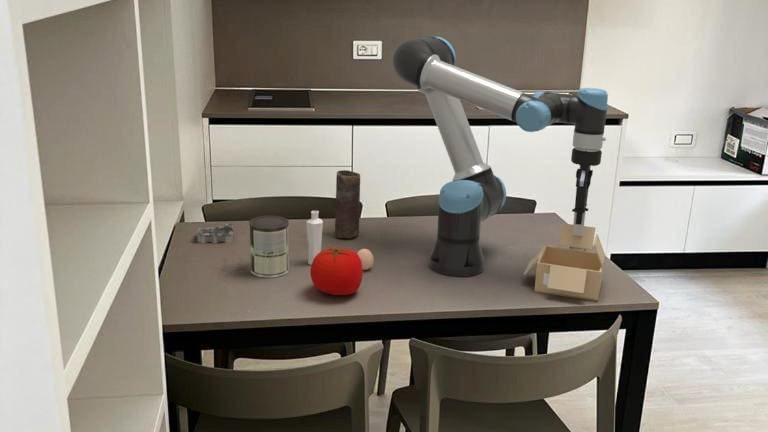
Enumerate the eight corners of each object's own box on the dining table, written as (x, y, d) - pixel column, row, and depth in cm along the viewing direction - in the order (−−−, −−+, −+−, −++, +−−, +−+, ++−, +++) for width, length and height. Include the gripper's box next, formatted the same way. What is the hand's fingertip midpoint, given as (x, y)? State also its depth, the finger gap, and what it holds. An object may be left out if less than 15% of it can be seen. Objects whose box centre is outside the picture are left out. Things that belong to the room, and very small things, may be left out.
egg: (355, 273, 214) (356, 252, 212) (353, 266, 218) (354, 246, 217) (374, 272, 214) (375, 252, 213) (371, 265, 219) (372, 245, 217)
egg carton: (234, 235, 240) (234, 222, 238) (232, 244, 233) (232, 231, 231) (198, 235, 239) (198, 222, 237) (195, 244, 231) (195, 231, 230)
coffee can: (242, 269, 213) (241, 220, 209) (273, 260, 220) (272, 212, 216) (265, 281, 207) (264, 230, 202) (296, 271, 213) (296, 222, 209)
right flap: (601, 265, 201) (593, 244, 200) (603, 255, 208) (596, 234, 207) (602, 265, 200) (594, 243, 200) (605, 254, 208) (597, 234, 207)
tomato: (368, 284, 206) (369, 242, 203) (354, 305, 194) (355, 261, 190) (320, 279, 209) (321, 237, 205) (304, 299, 196) (304, 255, 193)
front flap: (550, 264, 202) (547, 287, 200) (550, 264, 201) (547, 287, 200) (587, 270, 199) (583, 293, 198) (587, 269, 199) (583, 293, 197)
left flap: (538, 258, 206) (525, 275, 208) (543, 248, 213) (529, 264, 215) (537, 257, 206) (523, 274, 208) (542, 247, 213) (528, 263, 215)
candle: (345, 230, 246) (346, 168, 240) (364, 235, 242) (365, 172, 236) (329, 236, 240) (330, 173, 234) (348, 242, 236) (350, 177, 230)
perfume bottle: (326, 263, 220) (327, 211, 215) (315, 267, 217) (315, 215, 212) (315, 258, 223) (315, 208, 218) (303, 262, 220) (303, 211, 215)
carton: (534, 291, 205) (537, 263, 203) (542, 272, 218) (544, 245, 215) (597, 301, 200) (601, 272, 198) (601, 281, 213) (605, 253, 211)
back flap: (558, 244, 214) (561, 223, 215) (558, 244, 214) (561, 223, 216) (592, 249, 211) (595, 227, 213) (592, 249, 212) (595, 227, 213)
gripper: (600, 154, 199) (589, 243, 206) (603, 145, 211) (593, 230, 218) (569, 151, 202) (560, 239, 208) (575, 142, 213) (566, 226, 220)
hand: (577, 234), depth 213 cm, fingers closed
